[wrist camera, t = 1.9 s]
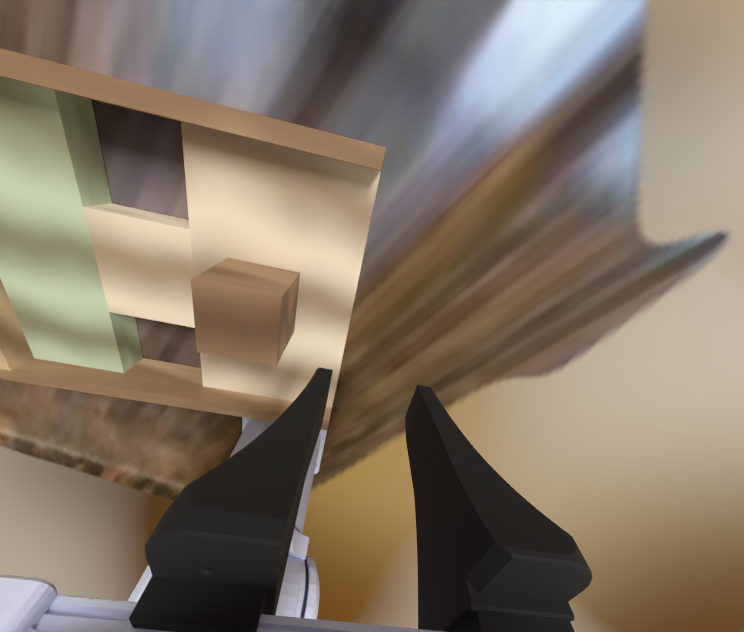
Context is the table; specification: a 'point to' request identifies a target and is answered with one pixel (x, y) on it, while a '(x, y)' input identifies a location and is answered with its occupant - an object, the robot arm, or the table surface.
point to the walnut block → (245, 310)
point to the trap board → (168, 241)
